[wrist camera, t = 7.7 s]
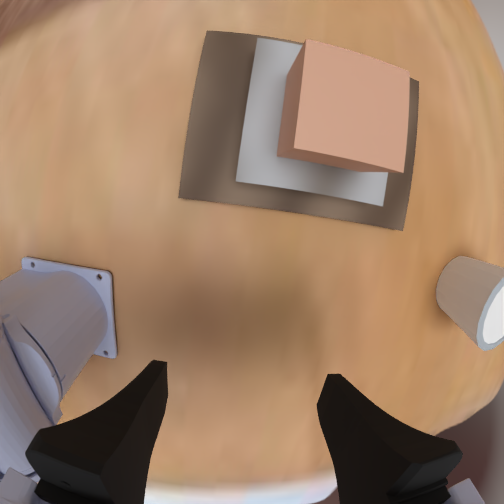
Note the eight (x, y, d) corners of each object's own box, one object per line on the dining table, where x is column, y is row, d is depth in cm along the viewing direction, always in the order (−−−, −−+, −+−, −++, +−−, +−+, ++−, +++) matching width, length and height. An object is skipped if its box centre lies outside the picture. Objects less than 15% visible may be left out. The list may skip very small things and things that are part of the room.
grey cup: (419, 310, 23) (464, 348, 16) (448, 239, 21) (502, 262, 14) (461, 321, 24) (502, 353, 17) (486, 260, 22) (534, 282, 15)
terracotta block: (276, 156, 15) (293, 147, 11) (286, 75, 14) (306, 38, 9) (359, 172, 16) (403, 172, 11) (366, 94, 15) (409, 71, 10)
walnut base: (182, 196, 19) (170, 201, 16) (208, 37, 16) (203, 14, 13) (395, 228, 21) (420, 238, 17) (411, 84, 18) (436, 74, 14)
